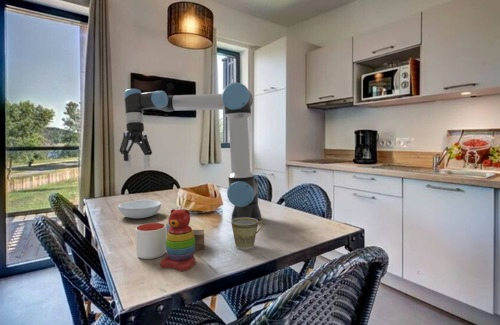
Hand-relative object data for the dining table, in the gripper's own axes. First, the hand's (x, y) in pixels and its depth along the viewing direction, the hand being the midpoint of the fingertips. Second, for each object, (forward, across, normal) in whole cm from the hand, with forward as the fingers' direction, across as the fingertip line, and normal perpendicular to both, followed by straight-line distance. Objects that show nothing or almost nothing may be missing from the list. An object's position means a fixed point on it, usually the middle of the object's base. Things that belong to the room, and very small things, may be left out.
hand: (138, 168), depth 135 cm
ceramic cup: (+34, +9, +53) cm, 64 cm away
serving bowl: (+24, -17, -13) cm, 32 cm away
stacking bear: (+34, +30, +36) cm, 58 cm away
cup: (+32, +26, +22) cm, 47 cm away
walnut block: (+33, +16, +35) cm, 50 cm away
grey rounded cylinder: (+31, +12, +23) cm, 41 cm away
